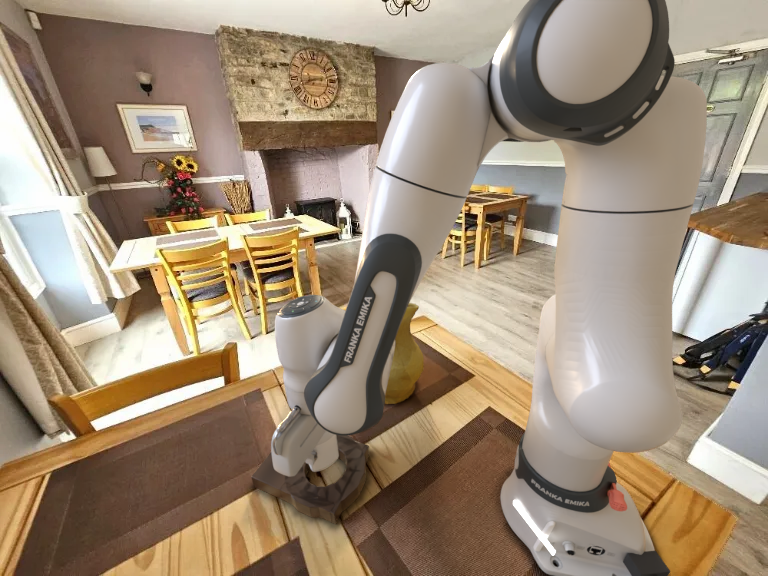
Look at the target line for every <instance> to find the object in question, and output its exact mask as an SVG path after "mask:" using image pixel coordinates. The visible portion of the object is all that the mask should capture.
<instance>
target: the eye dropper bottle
mask: <svg viewBox="0 0 768 576" xmlns="http://www.w3.org/2000/svg"><path fill="white" fill-rule="evenodd" d="M313 451H315V452H317V456H318V458H317V460H316V461H315V463H314V464H313V465H310V464H309V466H310V470H311V471H312V472H313V473H317V472H321V471H324V470H326V469H327V468H328V469H329V468H330V467H331V466H332V465H334V464H335V463H336V462H337V461H338V460H339V458H338V457H339V453H338V444H337V437H336V435H335V434H332V433H330V432H328V431H326V432H325V433H324V435H323V436H322V437H321V439H320V440H319V442H318V443H317V445H316V446H315V448H314V449H313Z"/></svg>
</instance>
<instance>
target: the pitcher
mask: <svg viewBox="0 0 768 576" xmlns="http://www.w3.org/2000/svg"><path fill="white" fill-rule="evenodd" d="M418 310H419V305H417V304H416V303H413V302H409V305H408V307H407V309H406V312H405V314H404V317H403V319H402V322H401V325H400V327H399V330H398V333H397V335H396V338H395V339H396V346H395V351H394V356H393V361H392V366H391V370H390V375H389V379H388V384H387V389H386V394H385V404H384V405H393V404H394V405H396V404H399V403H402V402H405V400H406V399H409V397H410V396H412V395H413V394H414V392H415V389H416V382H417V381H418V380H419V379H420V378H421V376H422V373H423V372H424V370H425V369H424V368H425V365H424V364H425V362H424V360H425V359H424V355H423V352H422V350H421V347H420V346H419V345H418V343H417V342H416V341H415V339H414V337H413V336H412V332H411V323H412V319H413V318H414V316H415V315H416V313H417V311H418Z"/></svg>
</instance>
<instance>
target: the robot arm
mask: <svg viewBox="0 0 768 576" xmlns="http://www.w3.org/2000/svg"><path fill="white" fill-rule="evenodd" d="M669 40H670V19H669V10H668V6H667V1H666V0H527V2H526V3H525V5H524V6H523V7H522V8H521V10H520V11H519V12H518V14H517V16H516V17H515V19H514V21H513V23H512V24H511V26H510V28H509V29H508V30H507V32H506V34H505V35H504V36H503V38H502V40H501V41H500V43H499V45H498V47H497V48H496V51H495V52H494V54H493V55H492V57H491V58H490V59H489V60H488V61H485V63H483V64H482V65H479V66H475V67H474V66H473V67H469V68H468V67H466V66H464V65H461V64H458V63H453V62H436V63H432V64H428V65H425V66H423V67H421V68H420V69H418V70H417V71H416V72H415V73H414V74H413V75H412V76H411V77H410V78H409V80H408V81H407V83H406V85H405V87H404V89H403V91H402V94H401V96H400V98H399V100H398V102H397V105H396V107H395V109H394V112H393V113H392V116H391V118H390V121H389V124H388V126H387V128H386V131H385V134H384V137H383V140H382V142H381V145H380V148H379V152H378V155H377V159H376V162H375V165H374V168H373V171H372V172H373V173H372V177H371V179H370V185H369V190H368V195H367V200H366V207H365V212H364V218H363V226H362V235H361V240H360V246H359V253H358V259H357V265H356V271H355V277H354V282H353V286H352V289H351V292H350V294H349V299H348V302H347V305H346V308H345V309H343V308H341V307H338V306H336V305H335V304H333V303H332V302H331V301H330V300H329V299H328V298H327V297H325V296H323V295H320V294H306V295H302V296H298V297H296V298H295V299H294V298H293V299H292V300H289V301H288V302H286V304H284V305H283V306H281V308H280V309H279V311H277V313H276V315H275V318H274V336H275V338H274V339H275V346H276V352H277V356H278V360H279V363H280V364H281V366H282V368H283V372H282V381H283V386H284V391H285V395H286V400H287V405H288V407H289V408H290V409H291V410H290V412H289V413H288V414H287V415H286V417H285V418H284V419H283V421H281V422H280V423H279V425H278V426H277V427H276V429H274V432H273V434H272V436H271V442H270V445H271V446H270V450H271V451H270V453H271V452H272V462H273V467H274V469H275V470H276V471H277V472H279V473H281V474H283V475H285V476H289V477H291V476H295V475H296V474H297V473H298V471H299V470H300V468H301V467H302V465H303V464H304V463H305V462H306V463H307V464H310V465H313V464H314V463H315V461H316V460H317V458H318V456H317V452H315V451H313V449H314V448H315V446H316V445H317V443H318V442H319V440H320V439H321V437H322V436H323V435H324V433H325V432H326V431H328V432H330V433H332V434H335V435H341V436H355V435H358V434H361V433H364V432H366V431H368V430H370V429H371V428H373V427H376V425H378V423H380V421H381V420H382V418H383V416H384V410H385V405H386V404H385V394H386V389H387V384H388V379H389V375H390V370H391V366H392V361H393V356H394V351H395V346H396V339H395V338H396V335H397V333H398V330H399V327H400V325H401V322H402V319H403V317H404V314H405V312H406V309H407V307H408V305H409V303H411V300H412V299H413V297H414V295H415V293H416V291H417V289H418V288H419V286H420V284H421V282H422V281H423V279H424V278H425V276H426V274H427V272H428V270H429V269H430V267H431V265H432V264H433V262H434V260H435V258H436V257H437V255H438V253H439V252H440V250H441V249H442V247H443V245H444V243H445V242H446V241H447V239H448V237H449V235H450V233H451V232H452V229H453V228H454V225H456V222H457V220H458V217H459V216H460V214H461V212H462V210H463V208H464V206H465V203H466V200H467V199H468V195H469V193H470V191H471V188H472V185H473V183H474V181H475V178H476V175H477V173H478V171H479V169H480V167H481V166H482V164H483V162H484V161H485V159H486V157H487V156H488V155H489V153H490V152H491V151H492V150H493V149H494V147H496V146H497V145H498V144H499V143H501V142H511V143H513V142H514V143H523V142H525V143H545V142H549V141H553V142H554V143H555V144H556V145H557V146H558V148H559V149H560V151H561V154H562V157H563V160H564V161H563V162H564V173H565V180H564V186H563V192H562V193H563V194H562V198H561V206H560V214H559V215H560V216H559V223H558V232H557V241H556V250H555V256H554V267H553V274H554V275H553V276H554V291H555V294H552V296H550V297H549V298H548V299H547V300H546V301H545V303H544V304H543V306H542V309H541V311H540V316H539V325H538V334H537V341H536V348H535V357H534V364H533V368H534V369H533V374H532V375H533V378H532V389H531V402H530V407H529V413H528V417H527V421H526V426H525V430H524V433H523V434H522V435H521V437H520V439H519V443H518V445H517V448H516V452H515V457H514V467H513V470H512V472H511V473H510V475H509V476H508V477H507V478H506V479H505V481H504V482H503V484H502V486H501V489H500V497H499V498H500V506H501V510H502V513H503V516H504V517H505V521H506V522H507V524H508V525H509V527H510V529H511V530H512V531H513V532H514V534H515V535H516V536H517V537H518V538H519V539H520V540H521V542H522V543H524V545H525V546H526V547H527V548H528V549H529V551H530V553H531V555H532V556H533V559H534V560H535V562H536V564H537V565H538V567H539V568H540V569H541V571H542V572H544V573H545V574H547V575H549V576H669V575H670V574H671V569H669V567H668V566H667V565H666V563H665V562H664V560H663V559H662V557H661V556H660V555H659V553H658V552H657V551H656V550H655V549H656V548H655V546H654V543H653V540H652V538H651V535H650V532H649V530H648V528H647V527H646V524H645V523H644V520H643V519H642V517H641V514H640V511H639V510H638V507H637V505H636V503H635V500H634V499H633V497H632V496H631V493H629V492H628V490H627V489H626V488H625V487H624V486H623V485H622V484H621V483H619V482H618V479H617V475H616V473H615V471H614V470H613V468H612V466H611V462H610V461H611V459H612V456H613V454H614V452H616V453H625V454H635V453H636V454H637V453H643V452H648V451H652V450H655V449H658V448H660V447H662V446H663V445H665V444H667V443H668V442H669V441H671V440H672V439H673V438H674V437H675V436H676V435H677V434H678V432H679V431H680V429H681V427H682V424H683V411H682V406H681V403H680V399H679V396H678V391H677V387H676V382H675V376H674V367H673V366H674V365H673V363H674V362H673V361H674V360H673V294H674V284H675V283H674V282H675V278H676V277H675V275H676V271H677V267H678V264H679V260H680V256H681V253H682V248H683V244H684V240H685V237H686V233H687V229H688V225H689V222H690V218H691V215H692V211H693V208H694V204H695V200H696V197H697V196H696V195H697V193H698V188H699V184H700V179H701V174H702V168H703V162H704V157H705V149H706V148H705V147H706V137H707V124H708V123H707V121H708V119H707V118H708V116H707V115H708V101H707V97H706V94H705V92H704V90H703V89H702V88H701V87H700V86H699V85H698V84H697V83H695V82H694V81H692V80H689V79H686V78H684V77H679V76H674V75H673V73H674V70H675V63H676V62H675V61H676V60H675V56H674V52H673V51H672V48H671V46H670V43H669ZM663 71H665V73H664V75H662V73H663ZM556 565H557V566H556Z"/></svg>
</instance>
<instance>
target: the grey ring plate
mask: <svg viewBox="0 0 768 576" xmlns="http://www.w3.org/2000/svg"><path fill="white" fill-rule="evenodd" d="M336 437H337V444H338V453H339V457H338V460H341V461H342V462H343V463H344V465H345V470H344V472H343V474H342V475H341V476H340V477H339V478H338V479H337V480H336V481H335V482H333V483H330V484H328V485H323V486H318V485H315V484H313V483H311V482H310V481H309V479H308V474H309V471H310V470H311V468H310V466H309V464H307V463H306V462H305V463H304V464H303V465H302V467H301V468H300V470H299V471H298V473H297V474H296V475H295V476H291V477H289V476H285V475H283V474H281V473H279V472H277V471H276V470H275V469H274V467H273V462H272V452H271V451H270V453H269V454H267V456H266V457H265V458H264V460H263V461H262V462H261V463H260V465H259V466H258V468H257V469H256V470H255V471H254V472H253V474H252V475H251V476H250V478H251V481H252V484H253V487H254V488H256V489H258V490H261V491H262V492H264V493H267V494H269V495H272V496H273V497H275V498H278V499H280V500H282V501H284V502H286V503H289V504H290V505H292V506H293V507H294V508H295V510H296V511H297V512H298V513H300V514H303V515H305V516H306V517H307V516H308V517H309V518H312V519H313V518H321V519H324V520H325V521H328V522H329V523H332V524H335V525H337V523H338V521H339V519H340V517H341V515H342V514H343V513H342V512H344V511H346V510H347V509H348V508H349V507H350V506H351V505H352V504H353V503H354V502H355V501H356V500H357V499H358V498H359V497H360V495H361V493H362V491H363V488H364V486H365V484H366V476H367V462H368V459H369V458H370V446H369V445H368V444H366V443H363V442H360V441H357V440H356V439H354V437H352V436H351V435H347V436H341V435H336Z"/></svg>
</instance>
